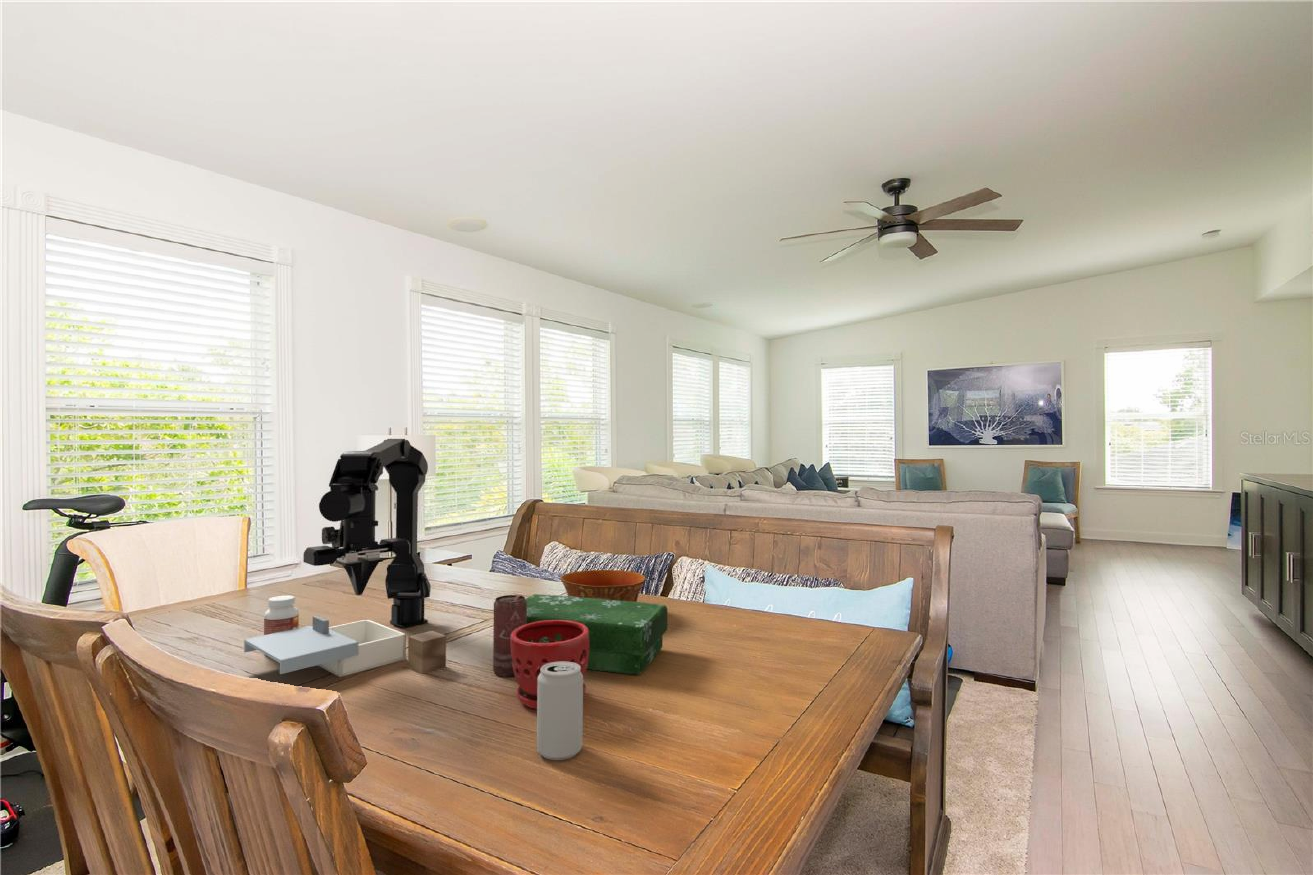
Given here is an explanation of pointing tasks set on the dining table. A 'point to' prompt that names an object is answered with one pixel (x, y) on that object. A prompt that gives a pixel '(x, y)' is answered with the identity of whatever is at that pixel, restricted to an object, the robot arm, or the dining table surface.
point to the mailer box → (368, 647)
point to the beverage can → (559, 710)
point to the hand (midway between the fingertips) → (358, 594)
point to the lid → (304, 646)
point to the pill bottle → (281, 615)
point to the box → (607, 628)
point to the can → (506, 630)
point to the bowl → (604, 584)
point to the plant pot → (545, 652)
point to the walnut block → (426, 651)
